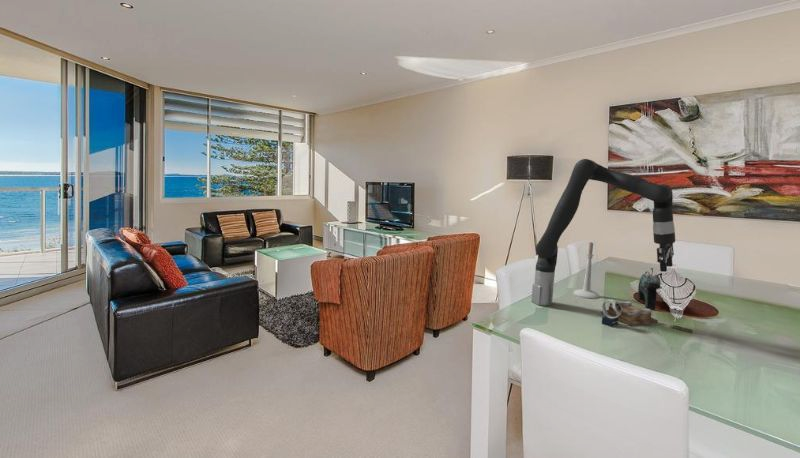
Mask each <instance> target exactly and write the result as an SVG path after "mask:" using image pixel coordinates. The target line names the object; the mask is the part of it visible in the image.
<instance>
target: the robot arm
mask: <svg viewBox="0 0 800 458" xmlns="http://www.w3.org/2000/svg"><path fill="white" fill-rule="evenodd" d="M571 171H572V172H571V174H570V177H569V180H568V182H567V185H566V187H565V189H564V191H563V192H562V195H561V196H560V198H559V200H558V201H557V203H556V206H555V208H554V210H553V212H552V214H551V217H550V220H549V222H548V224H547V227H546V229H545V231H544V233H543V234H542V236H541V238H540V239H539V241H538V242H537V244H536V245H535V252H536V254H537V261H536V264H535V273H534V283H533V284H532V289H531V290H532V291H531V302H532V303H533V302H534V303H533V304H536V305H537V306H542V307H543V306H546V307H548V306H552V305H553V299H554V298H553V296H554V288H555V286H554V285H555V274H556V273H555V272H556V266H557V261H558V252H559V246H558V242H559V240H560V238H561V236H562V234H563V233H564V231H566V229H567V228H568V226H569V225H570V224H571V222H572V221H573V219H574V217H575V215H576V213H577V212H578V208H579V207H580V206H579V205H580V202H581V197H582V194H583V190H584V188H585V187H586V185H587V184H588V182H589V180H590V181H597V182H600V183H601V182H602V183H604V184H608V185H610V186H613V187H615V188H618V189H619V190H623V191H626V192H629V193H632V194H636V195H638V196H641V197H642V198H645V199H647V200H648V201H649V200H650V201H652V202H653V209H652V222H653V223H652V235H653V242H654V243H655V244H657V245H659V247H656V258H657V259H656V260H657V261H656V262H657V263H659V269H660V272H662V273H663V272H667V271H668V268H667V267H670V268H671V267H673V257H674V255H675V253H674V244H675V242H676V229H675V222H674V212H673V198H674V195H673V189H672V188H671V187H670V186H669V184H666V183H661V184H657V183H654V182H651V181H648V180H647V179H645V178H642V177H639V176H636V175H633V174H629V173H624V172H621V171H617V170H612V169H611V168H607V167H605V166H603V165H601V164H598V163H597V162H595V160H591V159H588V158H582V159H580V160H578V161H577V162H576V163H575V165H574V166H573V169H572V170H571Z"/></svg>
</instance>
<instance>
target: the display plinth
mask: <svg viewBox="0 0 800 458" xmlns="http://www.w3.org/2000/svg"><path fill="white" fill-rule="evenodd" d="M618 302H619V301H618ZM619 303H620V305H621V307H622V312H621V315H620V316H619V317H618V322H620V323H623V324H625V325H627V326H629V327H633V326H634V327H635V326H642V325H651V324H658V323H659V319H656V318H653V317H652V310H651V309H647V308H644V309H642V308H640V307H637V306H634V305H632V304H633V302H631V301H621V302H619ZM606 310H607V312H608V315H612V316H615V317H616V316H617V314H616V312H615V311H614V309H613V306H612V303H611V302H610V303H609V305H608V309H606ZM600 314H603V315H604V313H603V311H602V310H601V313H600Z"/></svg>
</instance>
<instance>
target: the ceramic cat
mask: <svg viewBox="0 0 800 458" xmlns="http://www.w3.org/2000/svg"><path fill="white" fill-rule="evenodd" d="M650 270H651V273H650V272H649V271H645V273H643V274H642V275H641V277H640V279H639V282H638V285H637V286H638V287H637V300H638V299H639V300H638V301H640V300H645V301H644V303H645V304H644V307H645V309H651V311H656V305H657V290H659V289H661V283H662V282H661V278H660V277H659V274H657V273H656V274H655V275H653V272H654V268H653V267H651V268H650ZM647 273H648V274H647Z"/></svg>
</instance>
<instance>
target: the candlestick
mask: <svg viewBox="0 0 800 458" xmlns="http://www.w3.org/2000/svg"><path fill="white" fill-rule="evenodd" d="M593 250H594V242H592V241H591V242H588V253H586V257H587V260H586V261H587V263H586V268H585V276H584V281H583V287H582V288H580V289H576V290H574V291H573V295H575V296H576V297H579V298H582V299H591V300H594V299H595V300H596V299H599V298H600V294H599V293H598V292H596V291H593V290H592V289H591V283H592V282H591V280H592V259H593V256H594V254H593Z"/></svg>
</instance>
